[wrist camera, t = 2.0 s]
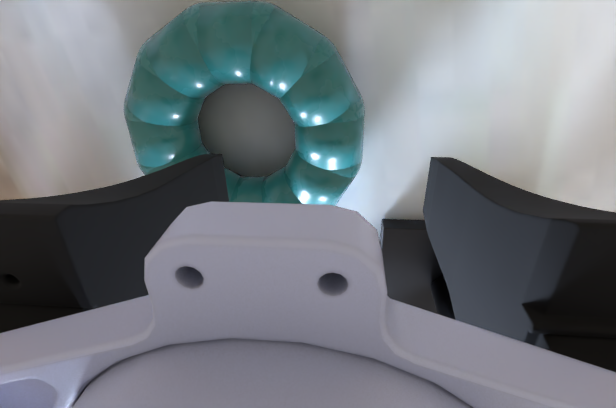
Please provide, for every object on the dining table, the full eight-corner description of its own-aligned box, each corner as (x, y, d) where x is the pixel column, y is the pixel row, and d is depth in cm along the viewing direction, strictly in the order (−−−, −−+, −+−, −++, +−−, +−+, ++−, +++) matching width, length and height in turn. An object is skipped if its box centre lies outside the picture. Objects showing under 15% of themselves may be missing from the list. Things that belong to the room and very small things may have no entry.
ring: (171, 214, 22) (146, 244, 19) (121, 4, 17) (76, 5, 14) (357, 219, 21) (358, 252, 18) (368, -3, 16) (373, -3, 13)
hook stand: (373, 318, 25) (379, 394, 20) (382, 218, 21) (392, 283, 16) (495, 324, 24) (531, 405, 19) (527, 222, 20) (583, 292, 16)
